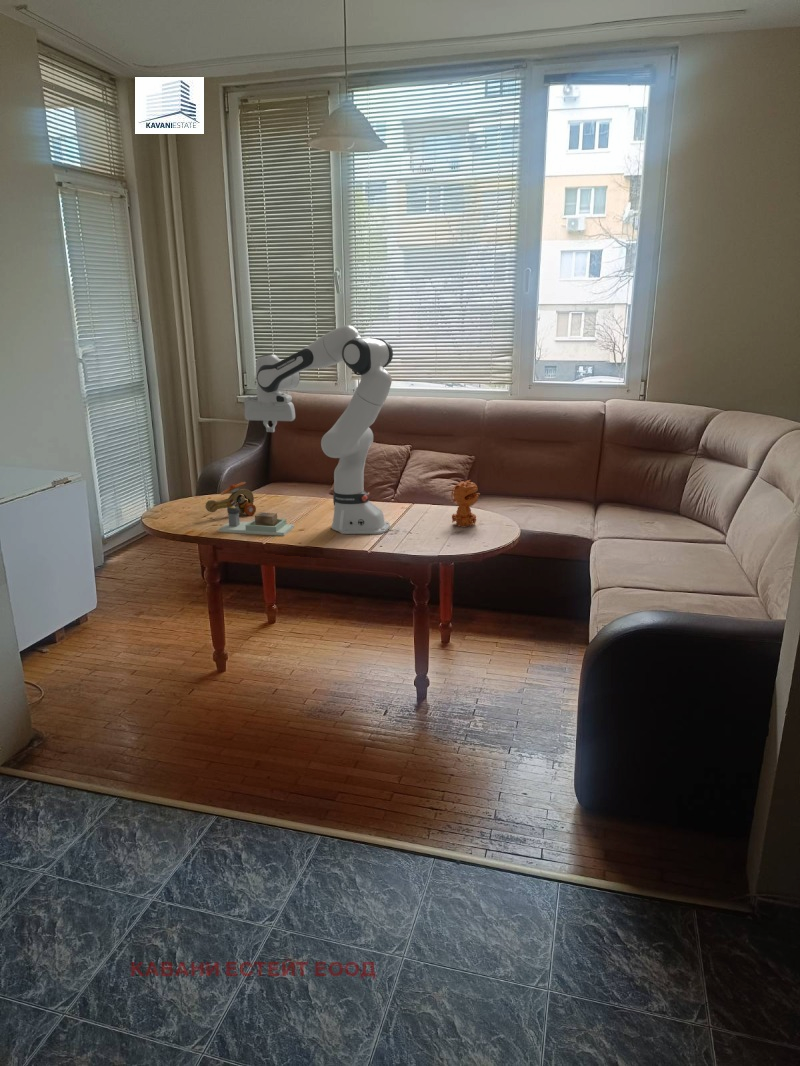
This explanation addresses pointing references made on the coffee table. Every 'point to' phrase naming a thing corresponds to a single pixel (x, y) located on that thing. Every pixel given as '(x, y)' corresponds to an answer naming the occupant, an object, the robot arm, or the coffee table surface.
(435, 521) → the coffee table surface
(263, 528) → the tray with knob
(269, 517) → the brown rectangular block
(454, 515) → the toy dinosaur
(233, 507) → the wheel knob
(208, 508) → the toy helicopter
